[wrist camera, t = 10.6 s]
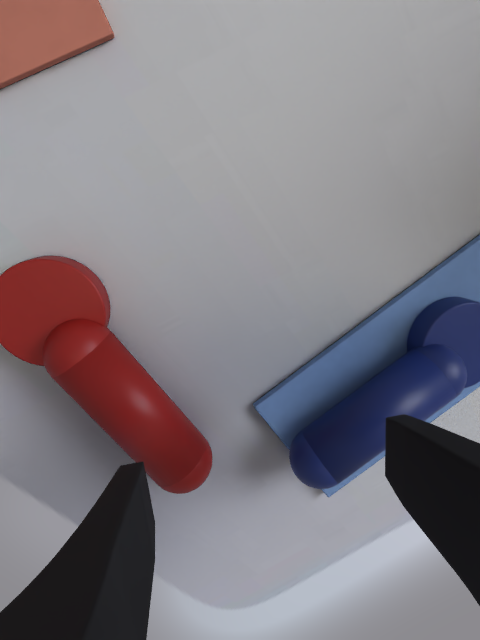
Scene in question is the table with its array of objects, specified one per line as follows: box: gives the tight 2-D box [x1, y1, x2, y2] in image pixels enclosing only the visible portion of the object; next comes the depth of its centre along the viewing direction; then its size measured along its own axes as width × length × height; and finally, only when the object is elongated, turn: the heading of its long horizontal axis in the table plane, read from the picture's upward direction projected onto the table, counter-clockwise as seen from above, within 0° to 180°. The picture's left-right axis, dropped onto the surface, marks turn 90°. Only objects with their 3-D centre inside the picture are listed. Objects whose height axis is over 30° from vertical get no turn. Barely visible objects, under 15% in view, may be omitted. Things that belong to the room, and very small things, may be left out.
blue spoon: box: [289, 297, 480, 489], centre depth 17 cm, size 11×4×3 cm, turn 126°
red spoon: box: [0, 256, 212, 494], centre depth 15 cm, size 11×4×3 cm, turn 35°
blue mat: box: [253, 235, 480, 497], centre depth 18 cm, size 15×6×1 cm, turn 126°
